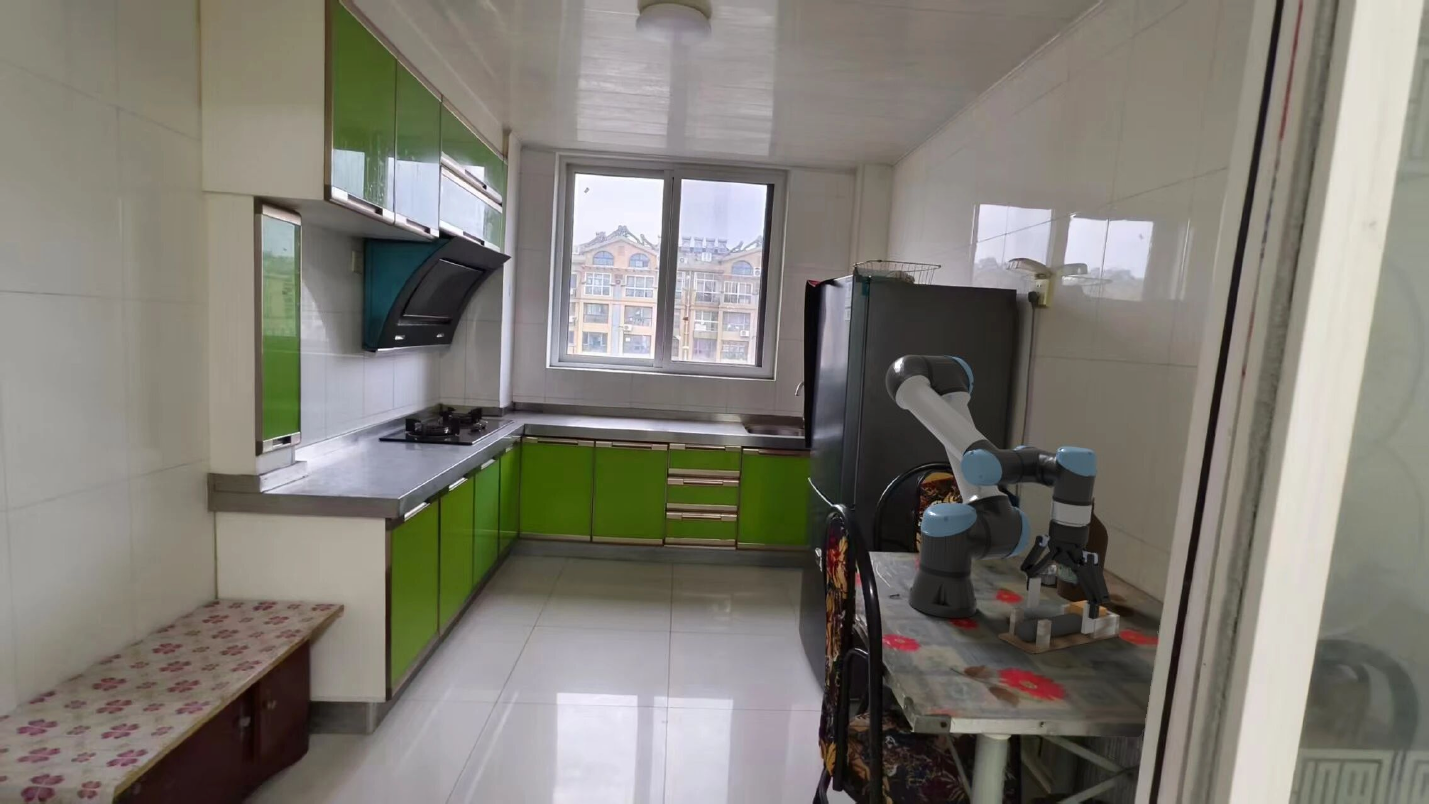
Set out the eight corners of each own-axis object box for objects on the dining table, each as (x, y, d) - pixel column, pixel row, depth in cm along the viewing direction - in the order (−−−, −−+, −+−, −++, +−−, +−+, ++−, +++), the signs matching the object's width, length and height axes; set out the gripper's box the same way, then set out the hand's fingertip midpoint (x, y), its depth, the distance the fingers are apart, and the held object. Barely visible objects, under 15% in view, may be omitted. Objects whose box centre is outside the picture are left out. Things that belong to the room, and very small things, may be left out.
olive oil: (1078, 587, 185) (1087, 491, 182) (1112, 602, 175) (1122, 501, 172) (1044, 589, 182) (1053, 492, 179) (1077, 605, 172) (1087, 502, 169)
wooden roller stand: (1031, 654, 143) (1034, 625, 143) (997, 637, 151) (1000, 609, 151) (1118, 636, 155) (1121, 609, 154) (1083, 620, 162) (1085, 595, 162)
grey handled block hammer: (1029, 647, 145) (1031, 622, 145) (1009, 637, 150) (1011, 613, 149) (1104, 632, 155) (1106, 608, 154) (1083, 623, 159) (1085, 600, 159)
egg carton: (1024, 570, 197) (1026, 556, 197) (1055, 575, 194) (1056, 560, 194) (1023, 582, 188) (1025, 566, 187) (1055, 587, 185) (1057, 571, 184)
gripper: (1138, 537, 141) (1125, 641, 143) (1033, 505, 163) (1023, 595, 166) (1112, 541, 138) (1099, 647, 140) (1009, 507, 160) (999, 599, 163)
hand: (1058, 619), depth 153 cm, fingers open, 13 cm apart
